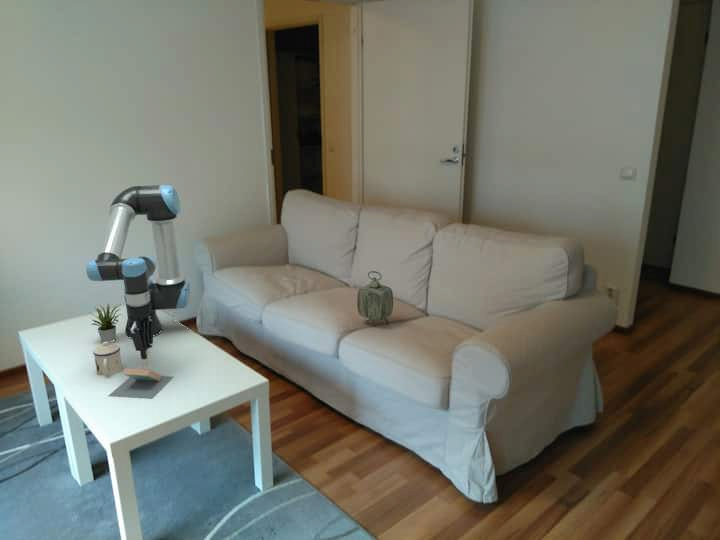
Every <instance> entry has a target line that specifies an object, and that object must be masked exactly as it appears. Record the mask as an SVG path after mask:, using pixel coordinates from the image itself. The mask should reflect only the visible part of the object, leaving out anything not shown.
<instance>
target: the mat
mask: <svg viewBox="0 0 720 540" xmlns="http://www.w3.org/2000/svg"><path fill="white" fill-rule="evenodd" d="M174 377H175V376H169V375H168V376H167V375H161V378H160V381H143V380H135V379H133V378H131V377H129V376H128V378H127V379H126V380H125V381H123V382H122V383H121V384H120V385H119V386H118V387H117V388H116V389H114V390H113V391H112V392H111V393H109V395H108V397H112V398H113V397H114V398H116V397H117V398H132V399H147V400H149V399H150V400H153V399H154V398H155V397H156V396H157V394H159V393H160V392H161V391H162V390H163V389H164V388H165V387H167V385H168V384H169V383H170V382H171V380H173V378H174Z"/></svg>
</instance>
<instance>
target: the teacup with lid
mask: <svg viewBox="0 0 720 540" xmlns="http://www.w3.org/2000/svg"><path fill="white" fill-rule="evenodd" d="M92 352H93V353H92V355H94V361H95V368H96V373H97V374H98V376H103V377H104V376H105V377H106V376H111V375H116V374H118V373H119V372H121V371H122V370H123V364H122V358H121V356H122V355H121V347H120V345H119V344H115V343H109V342H103V343H102V344H101V345H98V346H97V347H95V348H94V350H93V351H92Z"/></svg>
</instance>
